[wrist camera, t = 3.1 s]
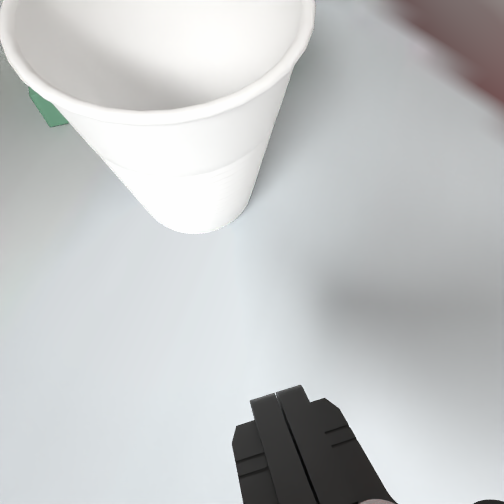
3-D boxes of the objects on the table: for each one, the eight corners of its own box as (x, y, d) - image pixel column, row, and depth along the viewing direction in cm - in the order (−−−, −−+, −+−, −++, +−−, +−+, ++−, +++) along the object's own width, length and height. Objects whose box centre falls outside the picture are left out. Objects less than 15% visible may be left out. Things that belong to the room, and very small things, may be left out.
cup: (207, 96, 25) (181, -122, 15) (320, 192, 22) (381, 4, 12) (75, 185, 22) (-64, -11, 12) (186, 308, 20) (124, 185, 10)
